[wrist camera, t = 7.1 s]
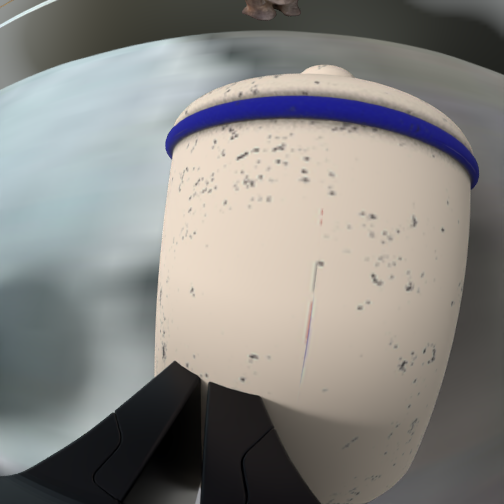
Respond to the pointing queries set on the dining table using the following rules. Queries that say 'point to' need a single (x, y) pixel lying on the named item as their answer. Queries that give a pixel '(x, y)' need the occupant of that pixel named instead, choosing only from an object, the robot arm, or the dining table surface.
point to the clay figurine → (270, 8)
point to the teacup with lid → (318, 265)
